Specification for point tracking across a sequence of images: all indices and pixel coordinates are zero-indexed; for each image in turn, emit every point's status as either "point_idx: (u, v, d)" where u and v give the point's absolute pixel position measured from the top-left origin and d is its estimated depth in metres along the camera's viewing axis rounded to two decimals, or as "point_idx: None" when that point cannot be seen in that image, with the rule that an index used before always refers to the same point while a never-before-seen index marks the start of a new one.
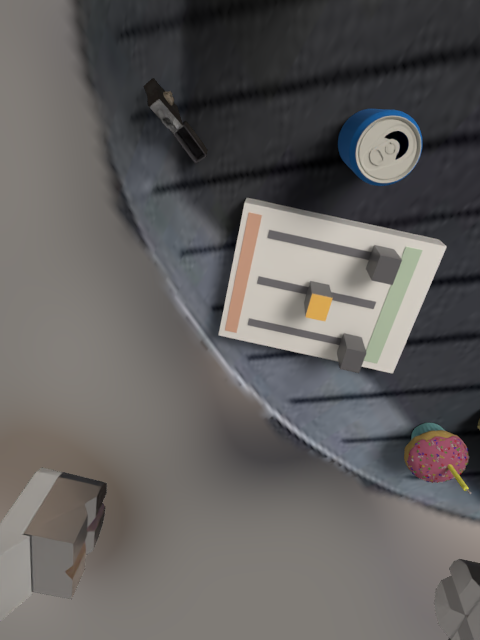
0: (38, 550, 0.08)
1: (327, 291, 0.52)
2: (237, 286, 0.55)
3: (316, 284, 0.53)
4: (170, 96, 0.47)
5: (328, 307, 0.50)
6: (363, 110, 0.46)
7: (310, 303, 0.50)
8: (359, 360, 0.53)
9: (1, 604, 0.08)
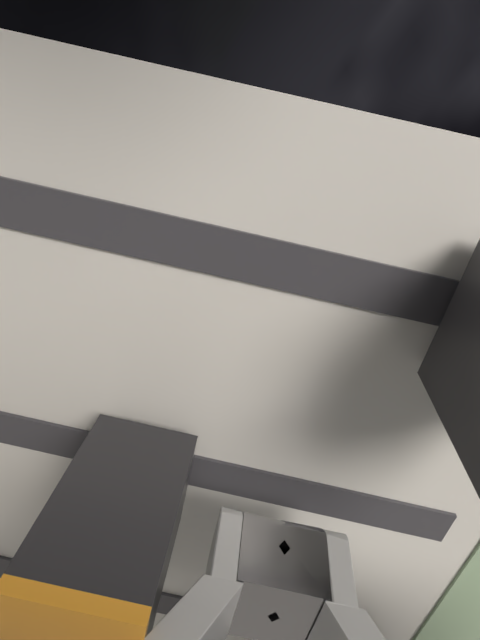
0: (247, 596, 0.08)
1: (156, 507, 0.08)
2: None
3: (117, 441, 0.10)
4: None
5: None
6: None
7: (3, 635, 0.07)
8: None
9: None
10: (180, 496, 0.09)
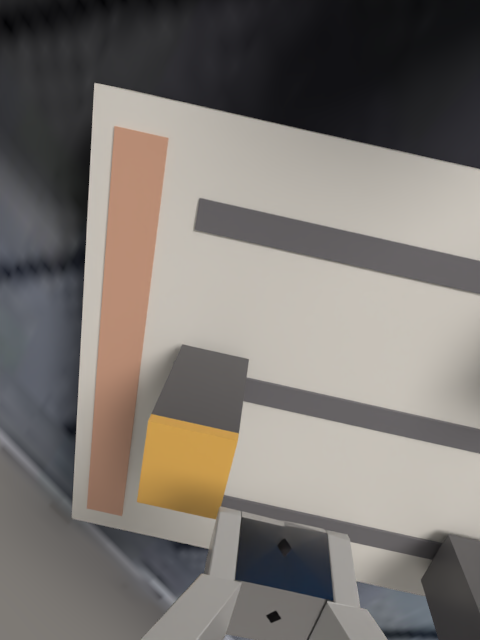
0: (245, 595, 0.08)
1: (230, 392, 0.13)
2: (107, 390, 0.17)
3: (197, 359, 0.15)
4: None
5: (224, 472, 0.12)
6: None
7: (148, 455, 0.12)
8: None
9: None
10: (244, 388, 0.14)
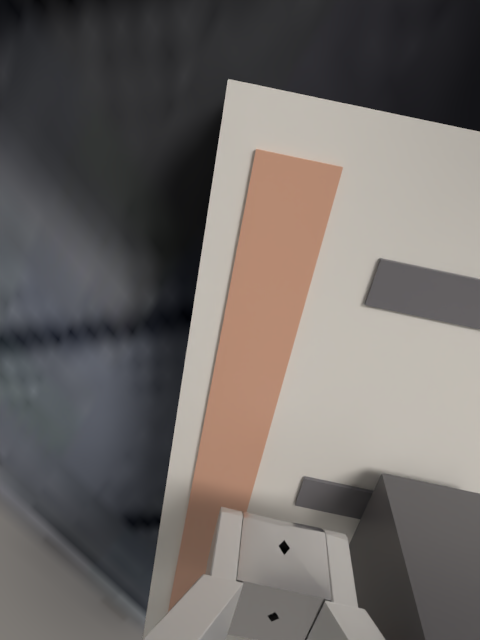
0: (246, 596, 0.08)
1: None
2: (203, 508, 0.12)
3: (418, 503, 0.10)
4: None
5: None
6: None
7: None
8: None
9: None
10: None
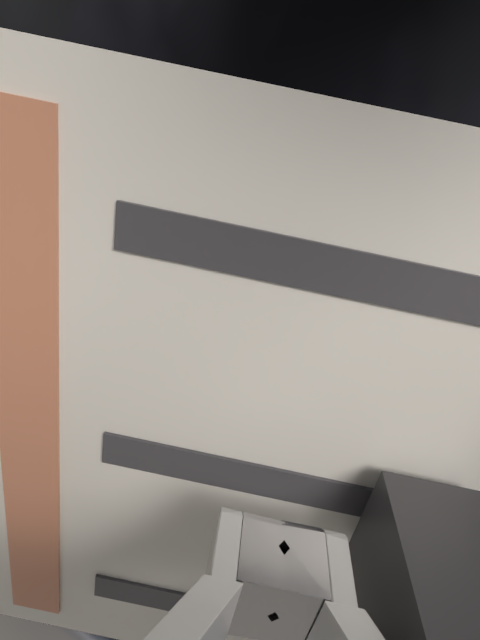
0: (246, 596, 0.08)
1: None
2: (18, 466, 0.12)
3: (418, 501, 0.10)
4: None
5: None
6: None
7: None
8: None
9: None
10: None
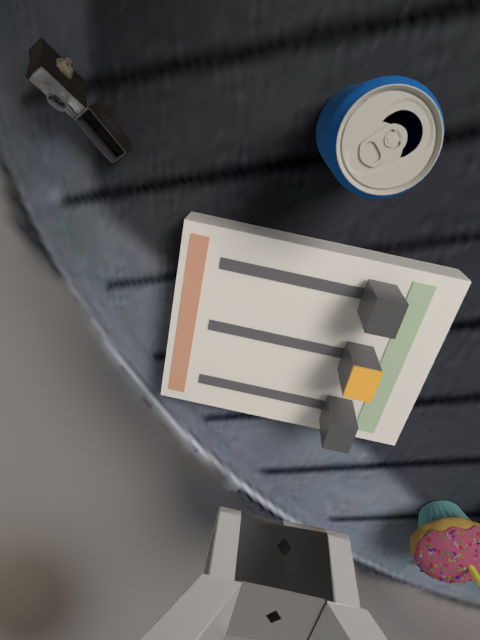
0: (245, 595, 0.08)
1: (373, 358, 0.37)
2: (181, 332, 0.40)
3: (355, 346, 0.38)
4: (66, 64, 0.32)
5: (376, 384, 0.35)
6: (351, 85, 0.31)
7: (350, 379, 0.35)
8: (348, 437, 0.38)
9: None
10: None
